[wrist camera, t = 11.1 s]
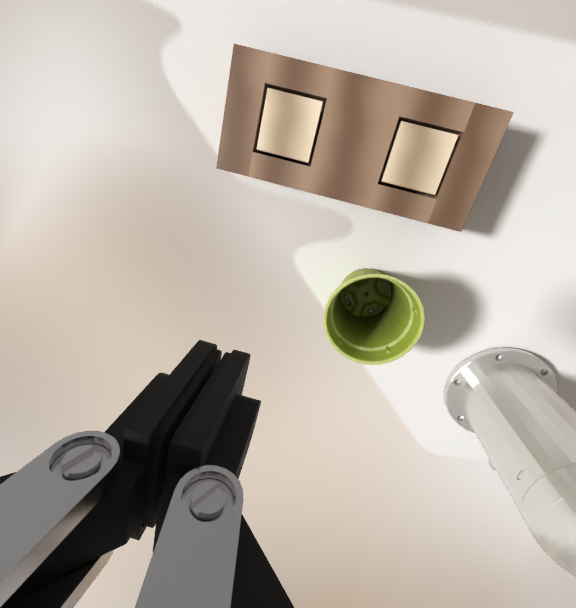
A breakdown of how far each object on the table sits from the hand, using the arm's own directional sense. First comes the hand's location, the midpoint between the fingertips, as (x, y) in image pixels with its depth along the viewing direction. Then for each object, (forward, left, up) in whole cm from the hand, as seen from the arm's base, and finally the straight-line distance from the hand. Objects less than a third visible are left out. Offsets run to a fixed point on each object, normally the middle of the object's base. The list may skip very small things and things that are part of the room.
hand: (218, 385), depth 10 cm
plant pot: (-8, -6, -29) cm, 31 cm away
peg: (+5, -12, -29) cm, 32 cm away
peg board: (+8, -7, -29) cm, 31 cm away
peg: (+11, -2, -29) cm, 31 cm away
